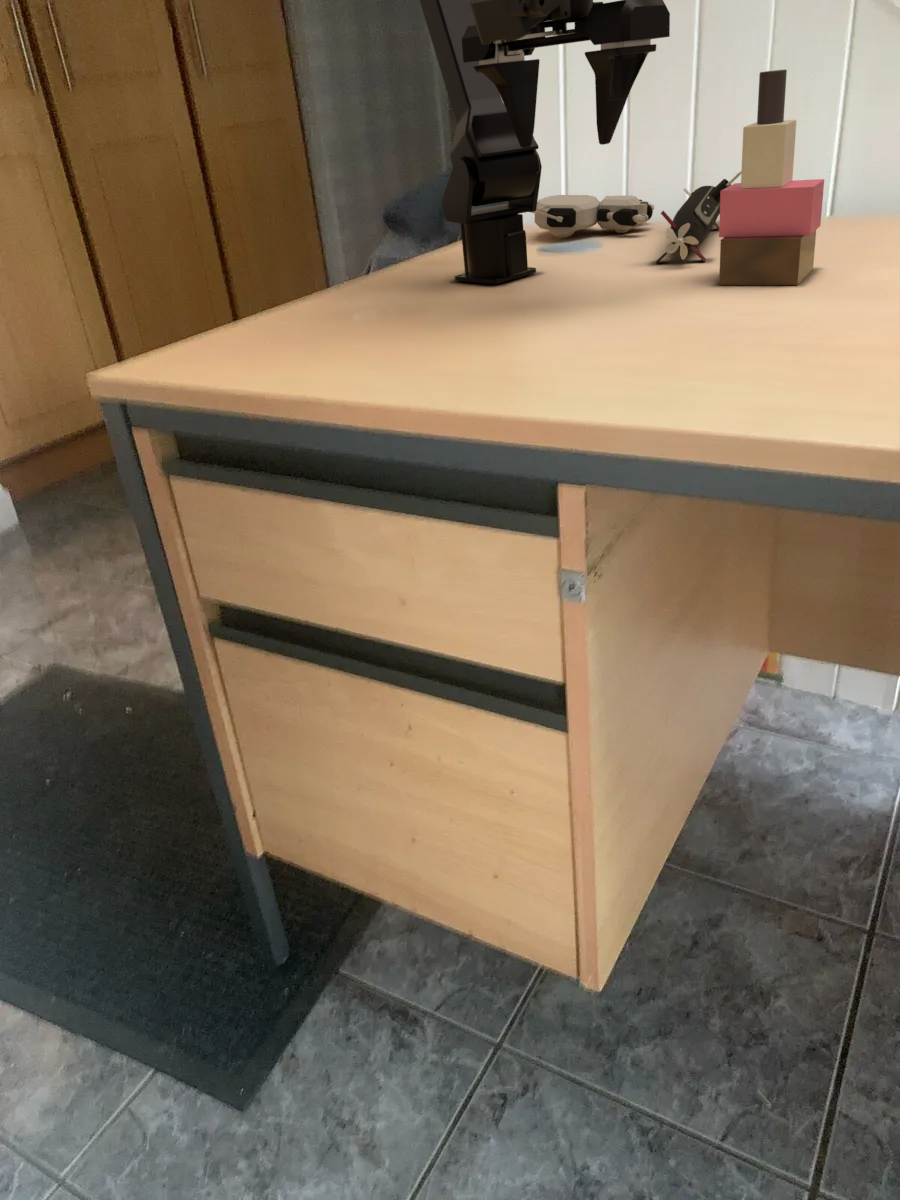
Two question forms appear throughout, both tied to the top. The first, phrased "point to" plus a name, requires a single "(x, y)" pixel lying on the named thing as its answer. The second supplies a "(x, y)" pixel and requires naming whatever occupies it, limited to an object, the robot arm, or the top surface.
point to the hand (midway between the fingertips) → (563, 145)
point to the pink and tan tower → (770, 175)
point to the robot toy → (590, 213)
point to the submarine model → (694, 219)
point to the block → (766, 260)
